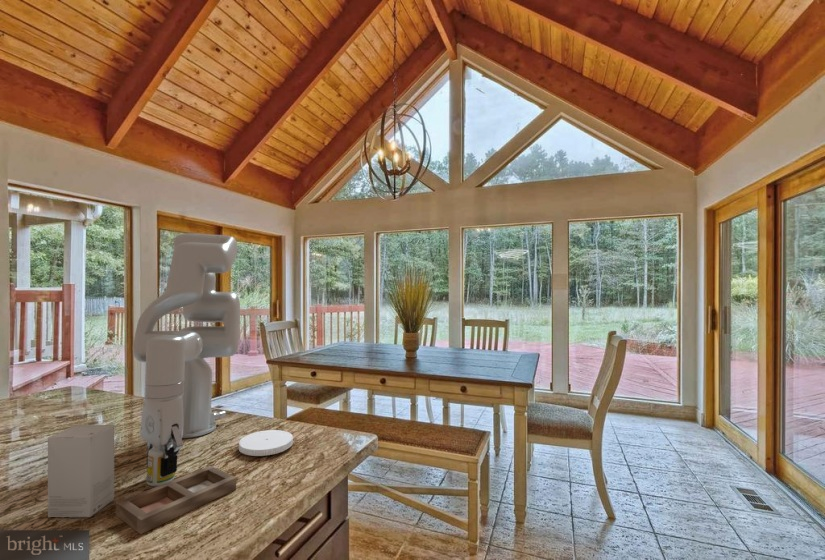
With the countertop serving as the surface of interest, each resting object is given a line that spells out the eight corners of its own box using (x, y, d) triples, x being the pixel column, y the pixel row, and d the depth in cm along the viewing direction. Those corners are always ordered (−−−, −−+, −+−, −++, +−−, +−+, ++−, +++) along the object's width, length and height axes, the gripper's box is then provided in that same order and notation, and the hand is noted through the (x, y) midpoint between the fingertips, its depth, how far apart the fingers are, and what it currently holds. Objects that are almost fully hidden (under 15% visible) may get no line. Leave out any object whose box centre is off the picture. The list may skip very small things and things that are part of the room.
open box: (210, 476, 89) (210, 465, 89) (236, 489, 84) (236, 477, 84) (115, 515, 73) (116, 502, 73) (140, 534, 68) (141, 520, 68)
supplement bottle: (141, 487, 84) (143, 443, 84) (155, 475, 89) (156, 433, 89) (167, 486, 84) (168, 442, 84) (179, 474, 89) (181, 433, 90)
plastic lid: (226, 456, 100) (227, 446, 100) (259, 436, 114) (259, 427, 114) (274, 462, 97) (274, 452, 97) (302, 441, 111) (302, 432, 111)
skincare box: (114, 500, 78) (118, 423, 79) (88, 519, 72) (92, 436, 72) (73, 500, 78) (76, 423, 78) (42, 519, 71) (46, 435, 72)
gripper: (128, 387, 88) (125, 466, 88) (166, 400, 79) (162, 488, 79) (163, 381, 95) (160, 455, 94) (202, 392, 86) (199, 474, 85)
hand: (161, 469), depth 86 cm, fingers closed on supplement bottle, 5 cm apart
